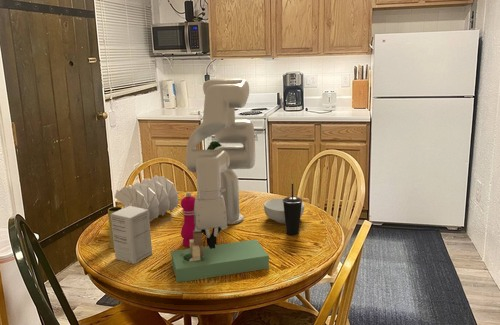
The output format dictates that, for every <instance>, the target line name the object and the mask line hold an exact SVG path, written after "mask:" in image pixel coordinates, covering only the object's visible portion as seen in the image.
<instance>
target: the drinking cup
mask: <svg viewBox="0 0 500 325" xmlns="http://www.w3.org/2000/svg"><path fill="white" fill-rule="evenodd" d="M303 200H304V199H303V198H301V197H299V196H294V183H291V196H287V197H284V199H283V204H284V214H285V223H284V224H285V231H286V232H285V234H286V235H288V236H291V237H294V236H298V235H299V234H300V226H301V225H300V223H301V217H302V216H301V206H302V202H303V203H304V201H303ZM300 216H301V217H300Z"/></svg>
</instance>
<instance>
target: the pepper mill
mask: <svg viewBox="0 0 500 325" xmlns="http://www.w3.org/2000/svg"><path fill="white" fill-rule="evenodd" d="M195 198H196V197H195V196H192V193H191V192H187V193H186V194H185V196H184V197H183V198H181V199H180V206H181V208H182V214H183V217H184V218H183V225H182V227H181V230H180V235H181V238H182V245H183V246H184V247H185V248H190V240H191V239H194V238H193V231H195V230H194V229H195V223H194V204H195Z"/></svg>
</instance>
